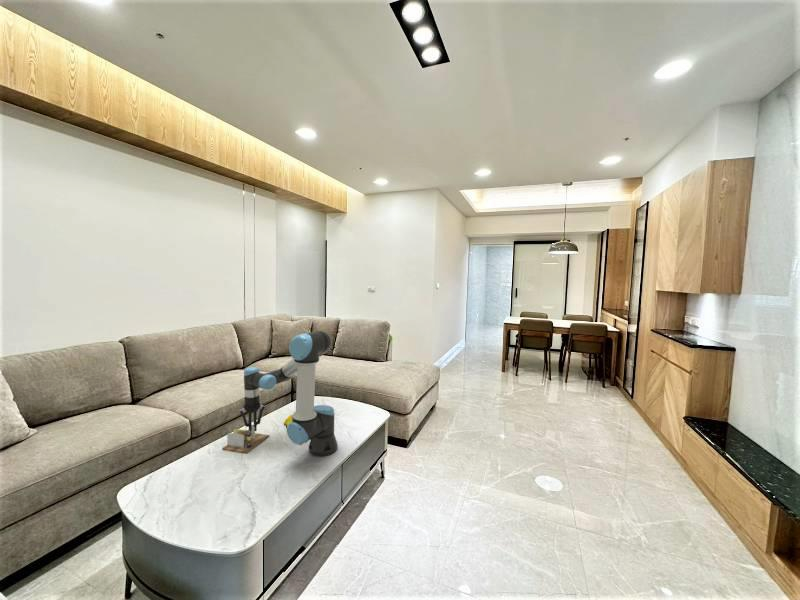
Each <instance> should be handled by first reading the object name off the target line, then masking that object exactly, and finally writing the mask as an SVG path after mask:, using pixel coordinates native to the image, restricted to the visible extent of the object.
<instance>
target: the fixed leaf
mask: <svg viewBox="0 0 800 600" xmlns="http://www.w3.org/2000/svg"><path fill="white" fill-rule="evenodd" d="M251 435H252V432H251V430H249V429H247V436H251ZM226 437H227V438H226V439H227V444H226V445H228V447H233V448H240V449H245V435H241V434H233V433H232V432H228V433H227V435H226ZM250 447H252V441H251V442H249V443H248V442H247V448H250Z"/></svg>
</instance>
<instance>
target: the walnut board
mask: <svg viewBox="0 0 800 600" xmlns="http://www.w3.org/2000/svg"><path fill="white" fill-rule="evenodd" d="M269 438H270V434H265V433H264V434H263V433H257V432H255V438H252V447H250V448H247V444H246V443H245V449H240V448H233V447H228V445H227V444H226V445H225V446H223V447H222V448H221V449H222V451H226V452H227V451H228V452H233V453H238V454H249V453H250V452H251V451H252V450H254V449H256V448H257V447H259V445H261V444H262V443H263V442H264V441H266V440H267V439H269Z"/></svg>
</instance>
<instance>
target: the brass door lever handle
mask: <svg viewBox="0 0 800 600" xmlns="http://www.w3.org/2000/svg"><path fill="white" fill-rule="evenodd" d="M247 430H248V429H247ZM247 430H246V429H239V428H238V429H237V428H234V429H233V430H232V431H233V434H241V435H245V443H246V444H247V442H248V443H249V442H251V441H252V435H251V436H247Z"/></svg>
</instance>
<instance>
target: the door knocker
mask: <svg viewBox="0 0 800 600" xmlns="http://www.w3.org/2000/svg"><path fill="white" fill-rule="evenodd" d="M292 415H293V414H290V415H289V416H288V417H287V418H286V419H285V420H284V422H283V425H284V426H285V425H286V428H287V426H288V425H289V423H290V422H292Z"/></svg>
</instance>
